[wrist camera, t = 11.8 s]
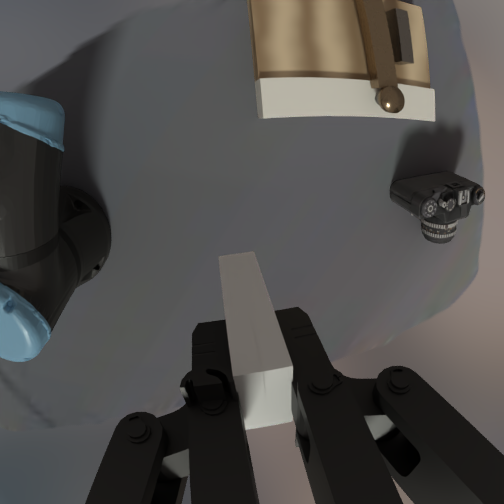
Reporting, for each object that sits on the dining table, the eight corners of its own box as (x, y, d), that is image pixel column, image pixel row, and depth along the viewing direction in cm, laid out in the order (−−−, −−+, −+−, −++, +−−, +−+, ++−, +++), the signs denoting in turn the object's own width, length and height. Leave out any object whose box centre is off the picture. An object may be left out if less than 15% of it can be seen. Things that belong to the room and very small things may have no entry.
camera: (390, 239, 49) (423, 267, 40) (387, 178, 44) (425, 197, 35) (450, 220, 49) (484, 242, 40) (450, 165, 44) (489, 180, 35)
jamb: (257, 117, 38) (266, 118, 32) (254, 81, 35) (262, 76, 30) (419, 119, 40) (442, 122, 35) (418, 89, 38) (441, 89, 32)
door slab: (254, 81, 35) (258, 79, 33) (246, -10, 29) (249, -18, 26) (418, 89, 38) (430, 89, 35) (410, 10, 31) (421, 7, 29)
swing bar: (394, 111, 35) (405, 113, 32) (372, 112, 35) (383, 113, 32) (373, -10, 27) (383, -16, 24) (349, -13, 26) (359, -20, 24)
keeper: (388, 63, 33) (402, 61, 30) (382, 13, 29) (395, 7, 26) (399, 65, 33) (413, 63, 30) (393, 15, 30) (407, 11, 26)
